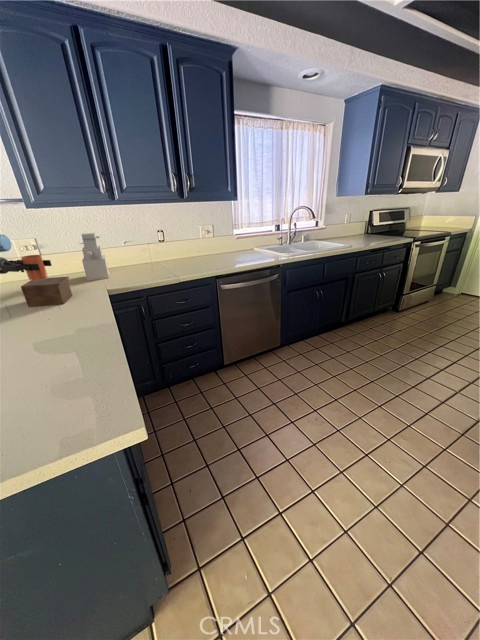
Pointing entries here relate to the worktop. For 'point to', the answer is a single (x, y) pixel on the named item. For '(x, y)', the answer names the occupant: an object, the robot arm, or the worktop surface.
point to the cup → (35, 273)
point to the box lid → (45, 282)
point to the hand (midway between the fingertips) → (44, 265)
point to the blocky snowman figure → (93, 258)
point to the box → (47, 295)
